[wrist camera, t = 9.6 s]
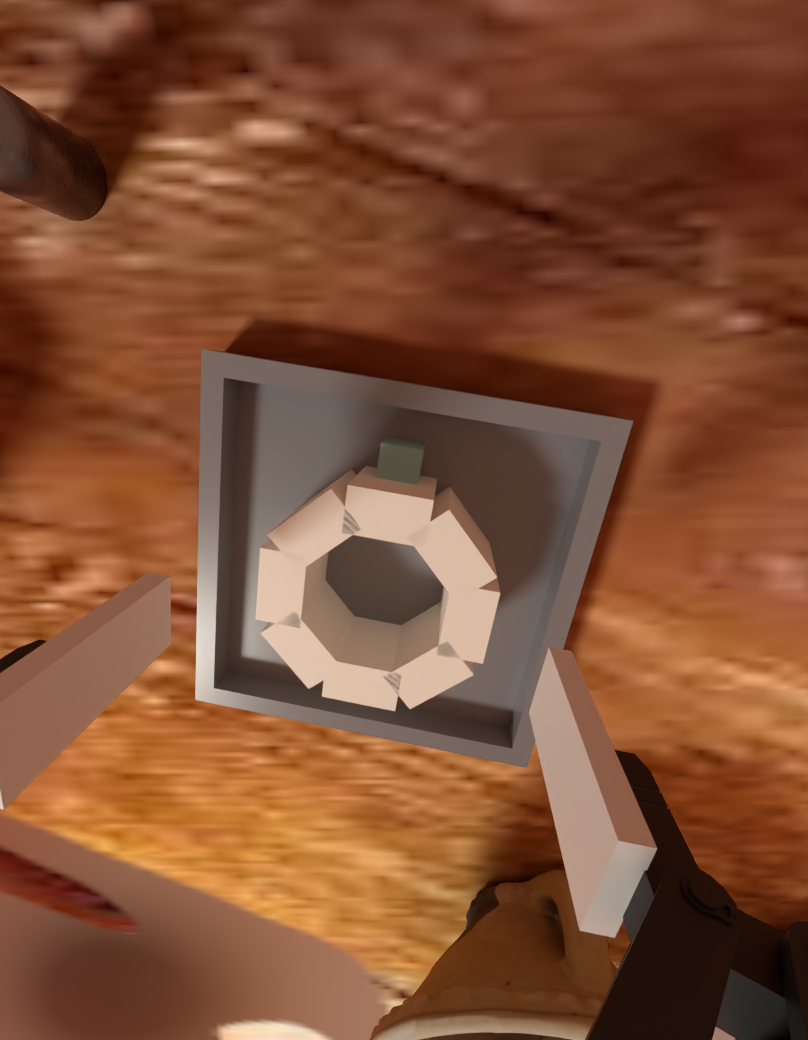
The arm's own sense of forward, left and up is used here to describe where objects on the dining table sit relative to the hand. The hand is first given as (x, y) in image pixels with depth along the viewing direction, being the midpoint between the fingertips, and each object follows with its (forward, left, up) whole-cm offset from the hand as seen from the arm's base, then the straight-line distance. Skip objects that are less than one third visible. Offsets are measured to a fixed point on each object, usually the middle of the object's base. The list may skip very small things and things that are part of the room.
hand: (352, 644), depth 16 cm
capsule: (-15, -16, -8) cm, 23 cm away
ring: (0, 0, -8) cm, 8 cm away
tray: (0, 0, -8) cm, 8 cm away
